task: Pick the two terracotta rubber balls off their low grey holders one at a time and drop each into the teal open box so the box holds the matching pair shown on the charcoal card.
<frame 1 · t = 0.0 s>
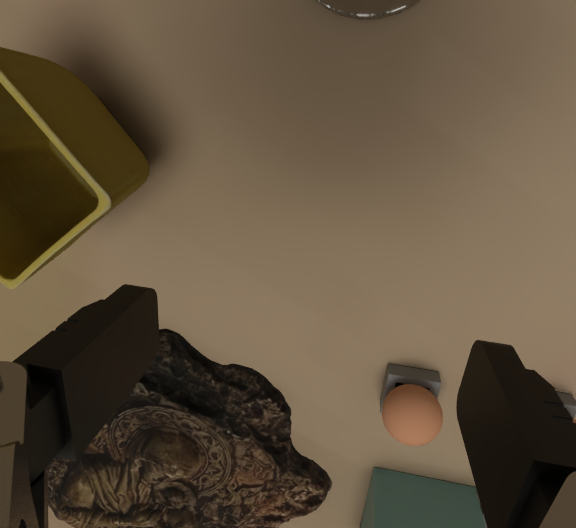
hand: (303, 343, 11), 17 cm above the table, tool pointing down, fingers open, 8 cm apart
ball a: (411, 414, 29), point 3 cm above the table, touching holder a
stone relief: (176, 460, 41), on the table
holder b: (535, 409, 30), on the table
flower pot: (100, 148, 28), on the table
teal open box: (413, 509, 37), on the table
holder a: (408, 386, 32), on the table
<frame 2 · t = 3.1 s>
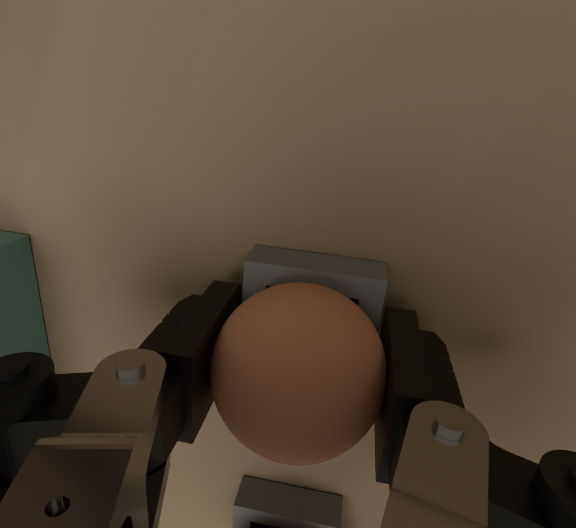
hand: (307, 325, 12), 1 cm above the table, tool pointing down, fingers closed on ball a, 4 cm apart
ball a: (298, 369, 10), point 3 cm above the table, touching gripper, holder a
holder b: (287, 519, 16), on the table
holder a: (312, 310, 12), on the table
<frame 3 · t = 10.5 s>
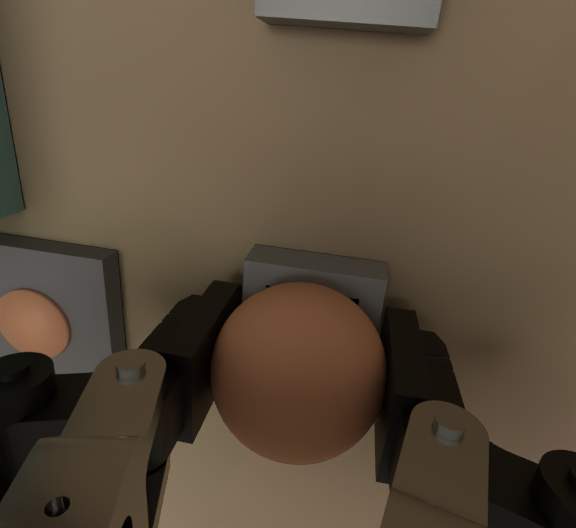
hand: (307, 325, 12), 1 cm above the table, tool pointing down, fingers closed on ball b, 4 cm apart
holder b: (312, 310, 12), on the table
ball b: (298, 368, 10), point 3 cm above the table, touching gripper, holder b
when the fingers open (9 cm above the table, at t = 13.9 s): ball b drops 6 cm and tips over, resting on ball a, teal open box.
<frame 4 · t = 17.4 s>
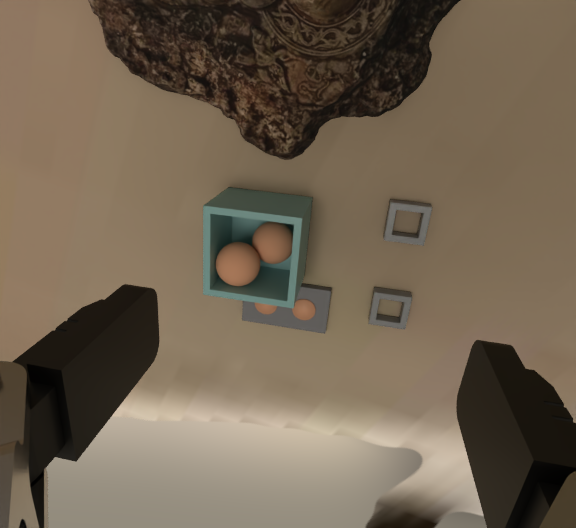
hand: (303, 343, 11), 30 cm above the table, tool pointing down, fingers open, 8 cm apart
ball a: (273, 242, 40), point 2 cm above the table, tilted 30°, touching ball b, teal open box
holder b: (389, 305, 43), on the table
ball b: (238, 264, 38), point 5 cm above the table, tilted 117°, touching ball a, teal open box
target card: (286, 302, 45), on the table
teal open box: (267, 232, 42), on the table
holder a: (406, 220, 39), on the table
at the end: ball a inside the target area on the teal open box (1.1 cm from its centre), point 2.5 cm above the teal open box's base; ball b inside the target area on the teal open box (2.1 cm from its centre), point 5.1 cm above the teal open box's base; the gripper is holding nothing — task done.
